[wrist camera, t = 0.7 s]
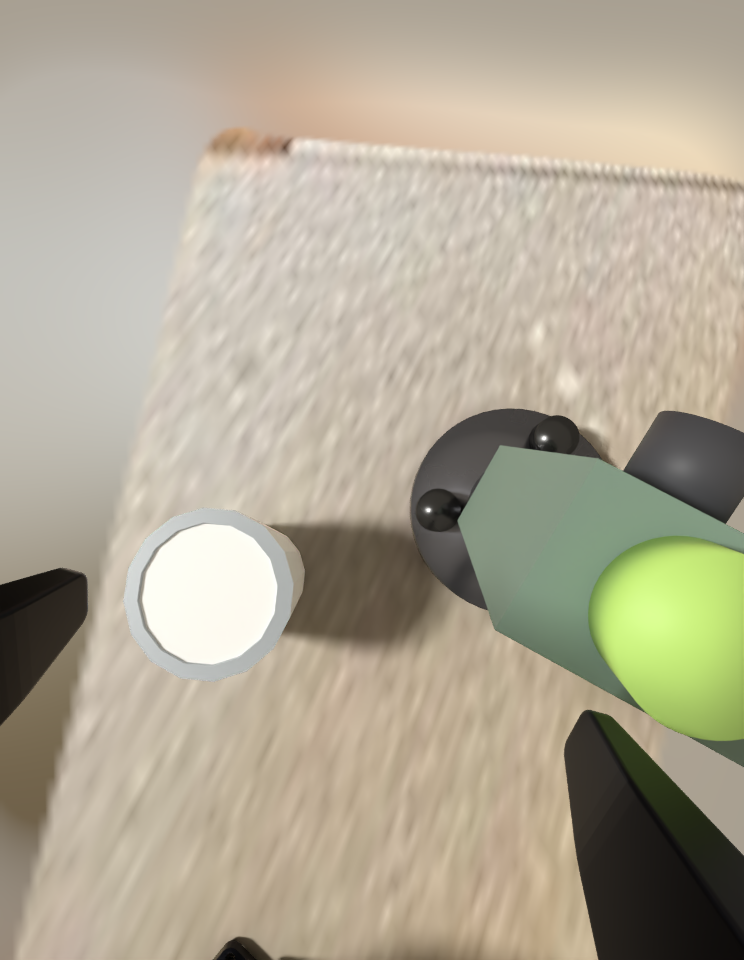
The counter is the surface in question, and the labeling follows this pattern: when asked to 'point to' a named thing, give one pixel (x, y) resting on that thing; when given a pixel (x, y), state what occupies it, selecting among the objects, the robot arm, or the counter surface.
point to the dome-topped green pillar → (626, 570)
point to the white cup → (212, 593)
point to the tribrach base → (474, 484)
